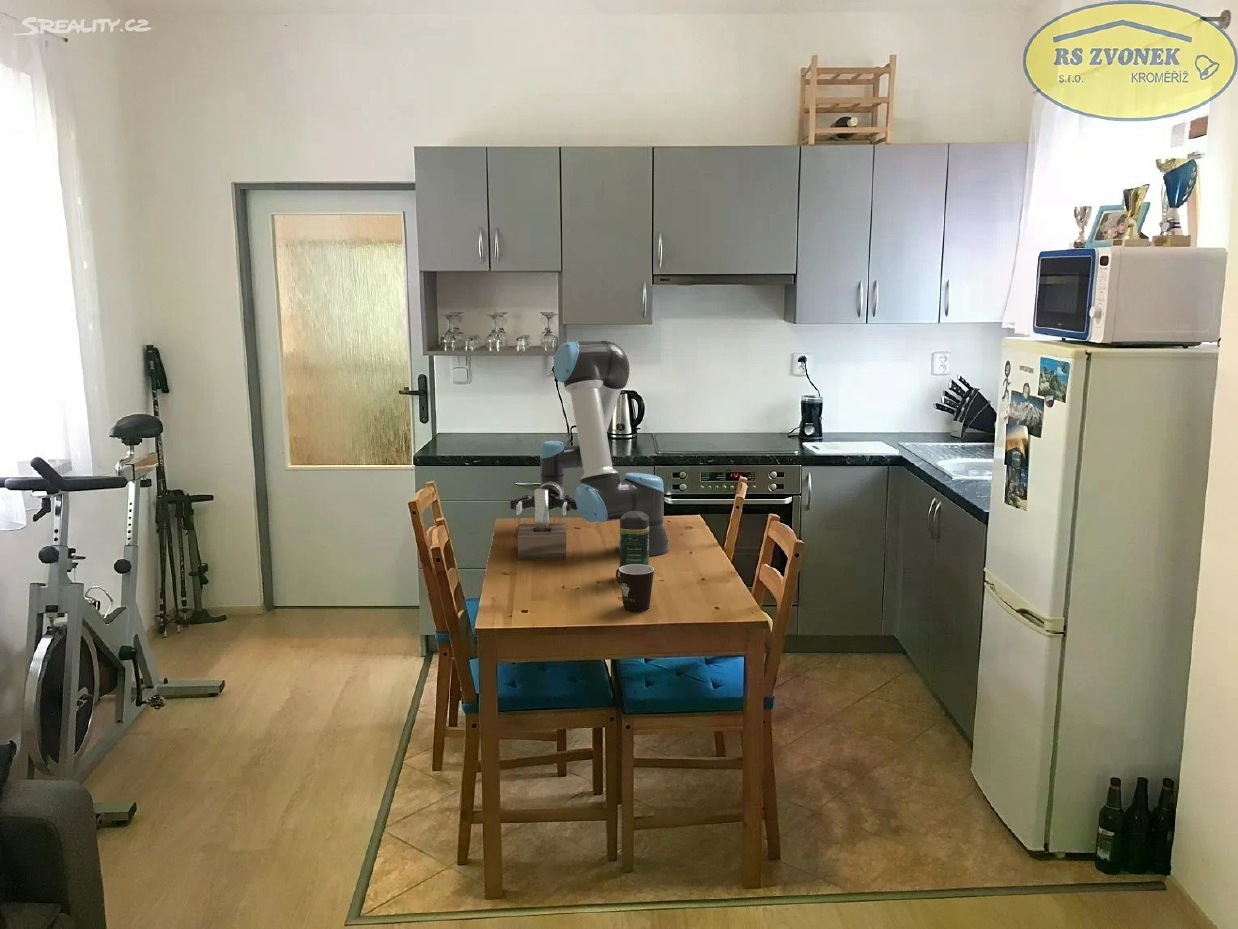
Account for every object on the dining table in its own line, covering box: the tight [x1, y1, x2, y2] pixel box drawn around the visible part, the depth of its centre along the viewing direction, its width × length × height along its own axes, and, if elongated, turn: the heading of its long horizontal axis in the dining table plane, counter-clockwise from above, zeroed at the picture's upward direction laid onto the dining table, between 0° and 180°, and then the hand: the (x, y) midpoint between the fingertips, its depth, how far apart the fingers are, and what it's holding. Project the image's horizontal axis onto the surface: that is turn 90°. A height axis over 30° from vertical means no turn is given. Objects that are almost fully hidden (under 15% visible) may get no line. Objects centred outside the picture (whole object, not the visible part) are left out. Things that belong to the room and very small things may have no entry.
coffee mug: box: [615, 564, 655, 613], centre depth 239 cm, size 12×9×10 cm
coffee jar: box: [619, 511, 650, 568], centre depth 261 cm, size 10×8×19 cm
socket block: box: [517, 522, 567, 561], centre depth 289 cm, size 16×14×7 cm
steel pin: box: [534, 488, 550, 532], centre depth 288 cm, size 4×4×17 cm
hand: (540, 511), depth 284 cm, fingers open, 13 cm apart
